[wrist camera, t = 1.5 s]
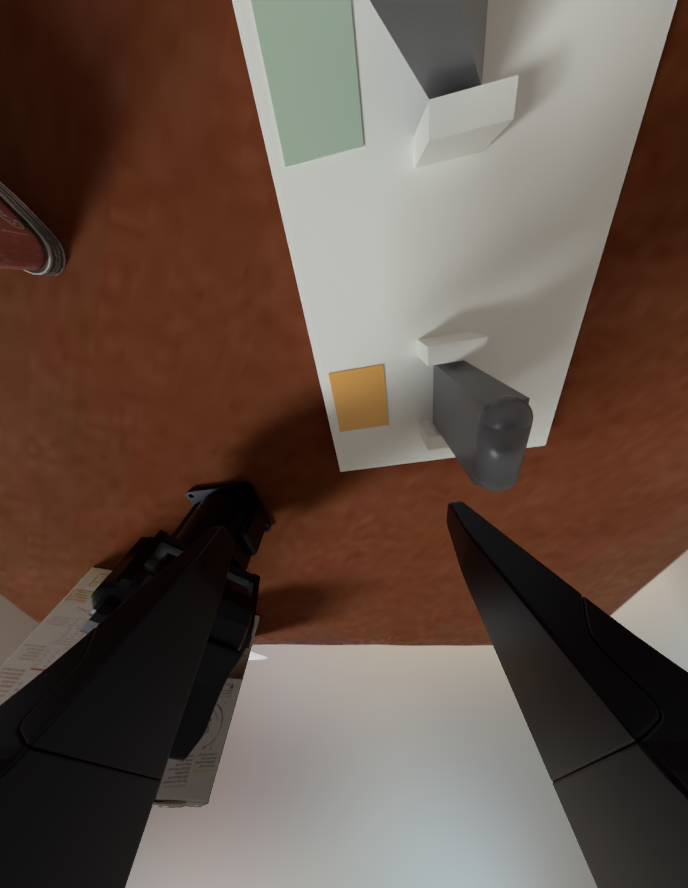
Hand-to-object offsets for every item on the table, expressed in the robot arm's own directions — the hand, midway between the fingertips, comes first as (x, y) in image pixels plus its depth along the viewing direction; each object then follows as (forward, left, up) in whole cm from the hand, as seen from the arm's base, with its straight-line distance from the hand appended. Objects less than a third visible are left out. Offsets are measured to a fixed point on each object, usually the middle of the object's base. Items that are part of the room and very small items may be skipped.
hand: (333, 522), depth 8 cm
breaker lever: (+7, 0, -10) cm, 12 cm away
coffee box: (-23, -34, -12) cm, 43 cm away
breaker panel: (+7, +6, -12) cm, 15 cm away
